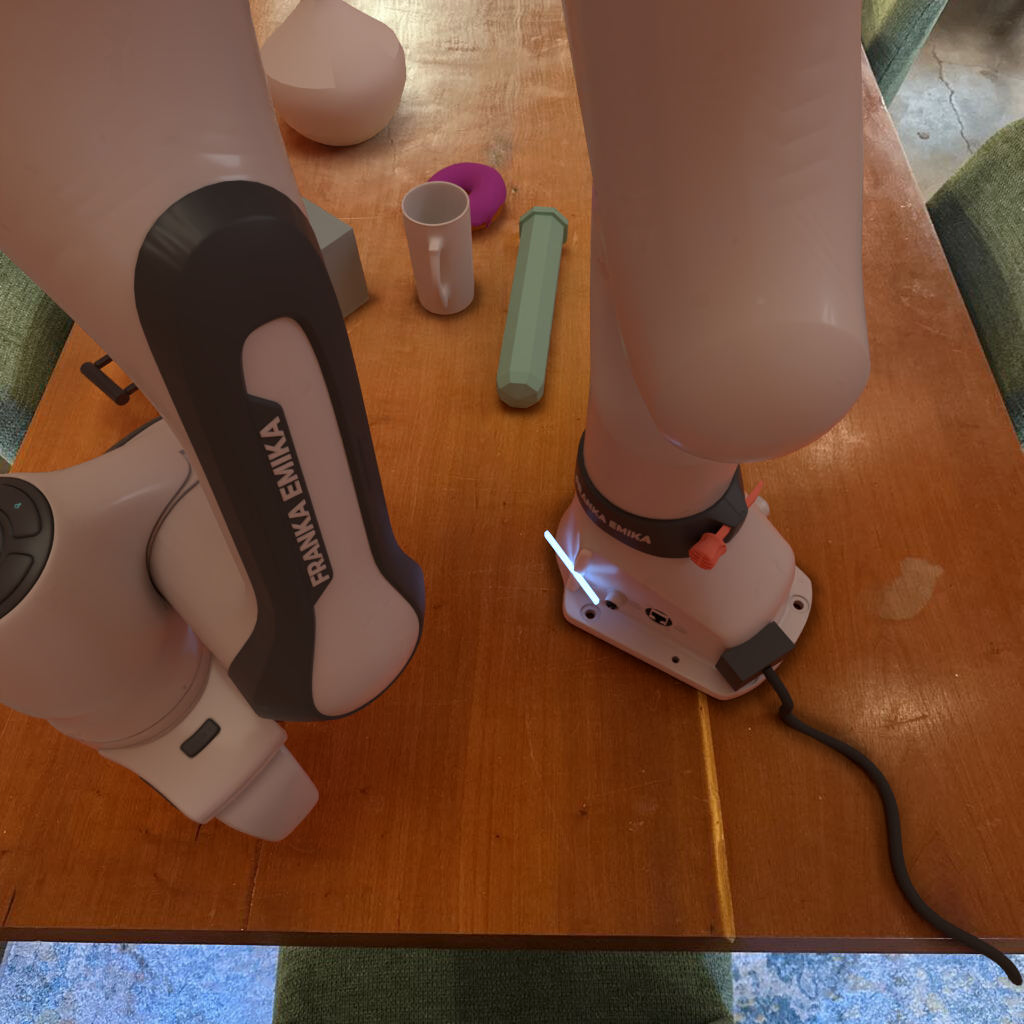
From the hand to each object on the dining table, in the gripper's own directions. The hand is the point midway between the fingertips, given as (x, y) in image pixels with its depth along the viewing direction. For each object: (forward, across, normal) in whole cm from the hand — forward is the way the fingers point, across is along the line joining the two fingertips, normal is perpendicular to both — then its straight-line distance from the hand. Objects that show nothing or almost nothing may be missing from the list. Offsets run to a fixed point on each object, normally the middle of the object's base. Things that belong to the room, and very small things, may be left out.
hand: (230, 741), depth 56 cm
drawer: (+3, -34, +22) cm, 41 cm away
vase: (+4, -54, +63) cm, 83 cm away
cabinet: (+4, -34, +34) cm, 48 cm away
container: (+5, -12, +50) cm, 51 cm away
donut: (+5, -30, +59) cm, 66 cm away
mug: (+4, -21, +46) cm, 51 cm away
